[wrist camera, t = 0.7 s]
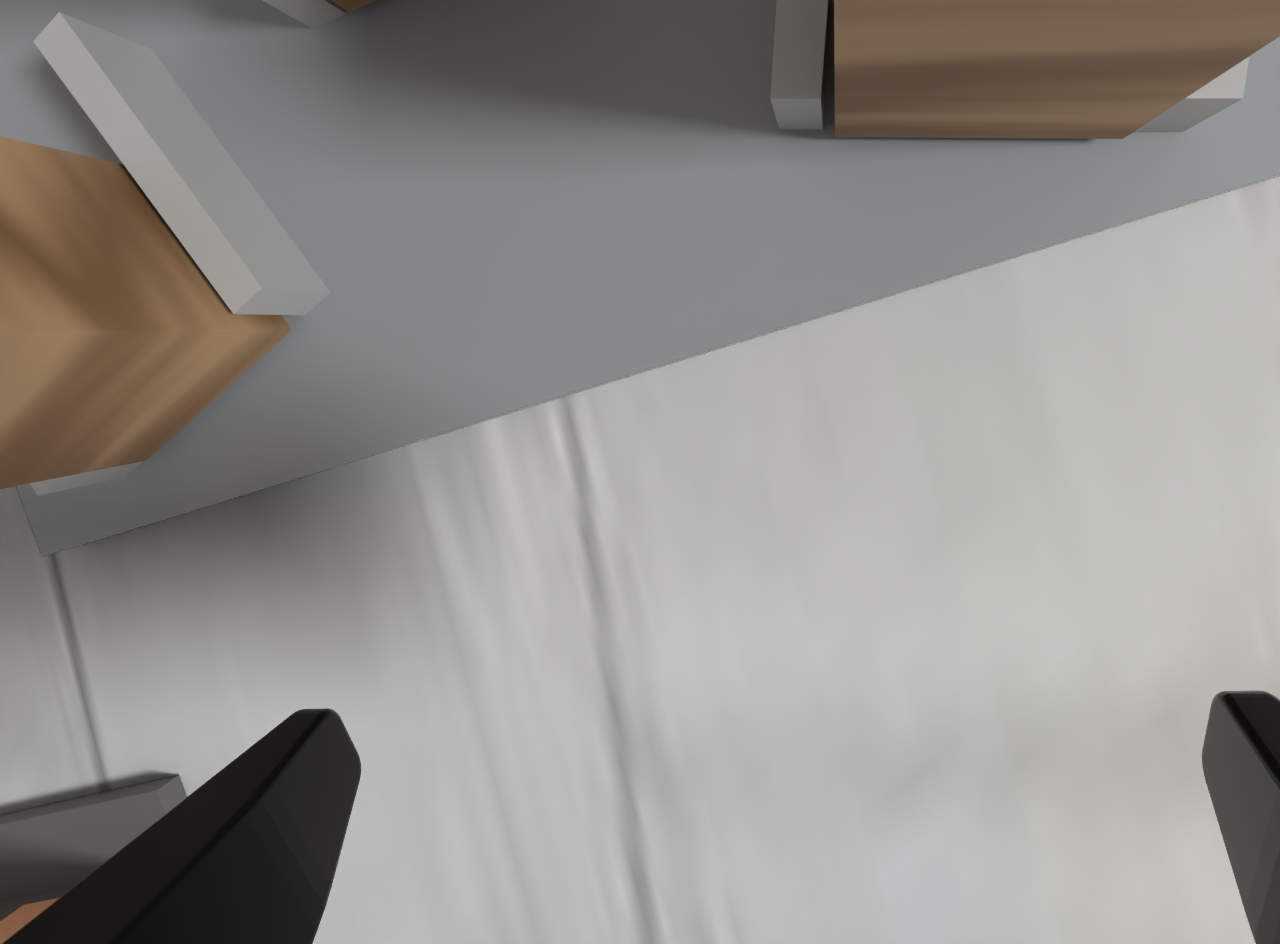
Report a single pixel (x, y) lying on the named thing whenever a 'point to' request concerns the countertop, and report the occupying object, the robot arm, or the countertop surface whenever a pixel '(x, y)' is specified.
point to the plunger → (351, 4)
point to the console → (530, 202)
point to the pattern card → (71, 844)
